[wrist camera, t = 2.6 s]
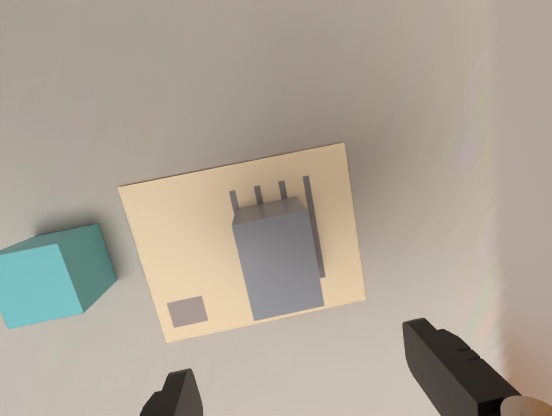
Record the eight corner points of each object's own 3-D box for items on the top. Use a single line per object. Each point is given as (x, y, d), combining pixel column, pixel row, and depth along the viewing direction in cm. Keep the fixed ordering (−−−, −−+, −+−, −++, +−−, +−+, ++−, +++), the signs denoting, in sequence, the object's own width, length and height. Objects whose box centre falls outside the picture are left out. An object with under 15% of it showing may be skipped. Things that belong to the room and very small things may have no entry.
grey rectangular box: (236, 208, 23) (231, 225, 18) (296, 196, 24) (308, 209, 19) (253, 287, 25) (254, 321, 20) (310, 274, 25) (324, 305, 20)
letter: (119, 186, 23) (117, 187, 22) (343, 142, 23) (344, 142, 23) (167, 340, 26) (166, 343, 25) (364, 298, 26) (366, 299, 26)
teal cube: (35, 236, 23) (-23, 259, 18) (98, 223, 23) (57, 243, 18) (57, 292, 24) (8, 328, 19) (117, 279, 24) (83, 312, 19)
